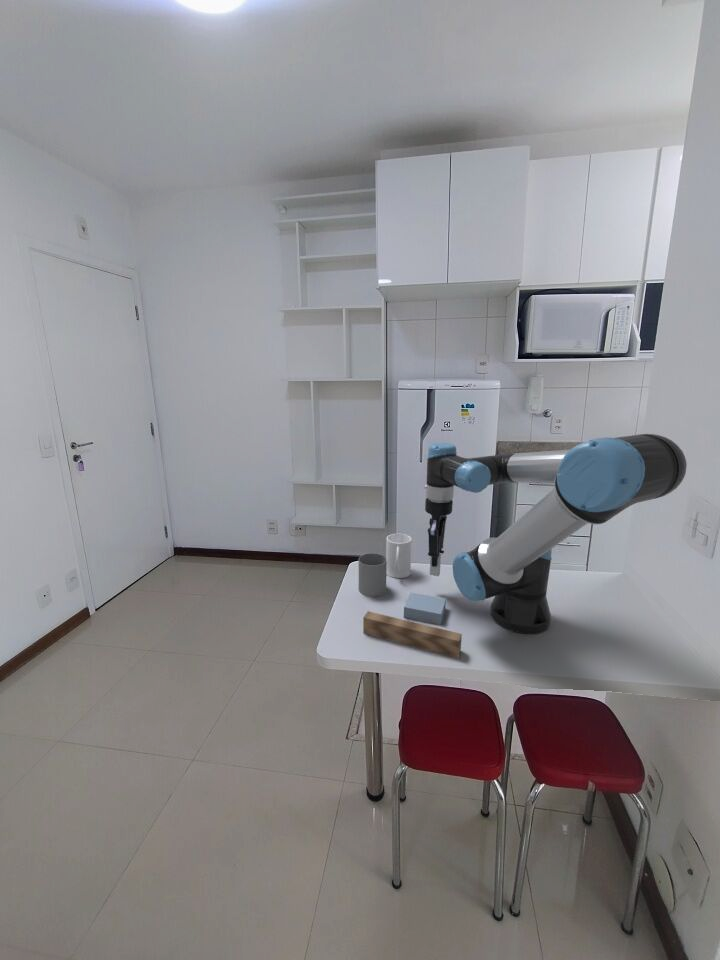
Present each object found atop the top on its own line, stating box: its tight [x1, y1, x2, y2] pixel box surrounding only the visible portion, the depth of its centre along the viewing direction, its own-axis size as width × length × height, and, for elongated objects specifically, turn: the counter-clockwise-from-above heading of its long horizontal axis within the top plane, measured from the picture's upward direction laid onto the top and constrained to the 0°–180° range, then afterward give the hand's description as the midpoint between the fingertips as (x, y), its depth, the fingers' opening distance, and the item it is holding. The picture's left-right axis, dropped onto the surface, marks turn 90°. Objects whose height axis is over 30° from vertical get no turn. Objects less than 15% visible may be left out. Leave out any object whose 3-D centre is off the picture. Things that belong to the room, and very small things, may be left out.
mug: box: [385, 533, 413, 579], centre depth 136 cm, size 12×8×12 cm
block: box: [403, 592, 447, 625], centre depth 116 cm, size 10×8×4 cm
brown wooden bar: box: [362, 610, 463, 659], centre depth 104 cm, size 24×3×4 cm, turn 67°
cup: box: [358, 552, 387, 597], centre depth 128 cm, size 8×8×10 cm
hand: (434, 574), depth 125 cm, fingers closed
